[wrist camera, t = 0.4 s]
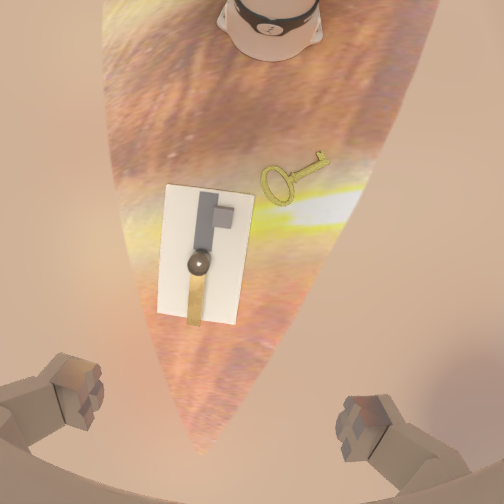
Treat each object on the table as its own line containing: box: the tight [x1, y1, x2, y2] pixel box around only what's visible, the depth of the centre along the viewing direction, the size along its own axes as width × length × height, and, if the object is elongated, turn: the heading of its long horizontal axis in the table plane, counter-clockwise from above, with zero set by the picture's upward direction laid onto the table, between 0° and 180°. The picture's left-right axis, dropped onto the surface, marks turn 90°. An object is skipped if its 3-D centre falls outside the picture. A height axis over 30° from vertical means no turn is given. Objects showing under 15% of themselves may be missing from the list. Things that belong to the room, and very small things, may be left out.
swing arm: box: [187, 249, 212, 326], centre depth 52 cm, size 13×4×4 cm, turn 171°
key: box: [261, 150, 329, 206], centre depth 50 cm, size 7×12×2 cm, turn 137°
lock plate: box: [157, 184, 255, 325], centre depth 52 cm, size 24×15×4 cm, turn 171°
